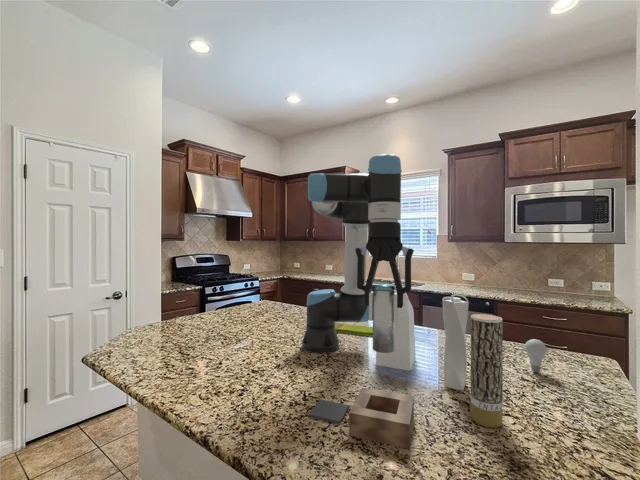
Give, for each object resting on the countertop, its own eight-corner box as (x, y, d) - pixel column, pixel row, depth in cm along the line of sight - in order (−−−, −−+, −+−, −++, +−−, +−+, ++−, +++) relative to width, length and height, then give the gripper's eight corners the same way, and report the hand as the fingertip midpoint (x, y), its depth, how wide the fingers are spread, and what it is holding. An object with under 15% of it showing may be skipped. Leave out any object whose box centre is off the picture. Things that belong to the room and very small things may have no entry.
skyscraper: (466, 394, 89) (467, 295, 89) (439, 387, 93) (439, 293, 93) (470, 383, 96) (470, 292, 96) (444, 378, 100) (444, 290, 100)
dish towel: (326, 324, 169) (326, 318, 169) (393, 331, 155) (393, 325, 155) (315, 331, 155) (315, 324, 155) (387, 340, 141) (387, 333, 141)
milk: (415, 359, 116) (415, 289, 116) (410, 370, 105) (410, 293, 106) (383, 354, 121) (383, 287, 121) (375, 364, 111) (376, 291, 111)
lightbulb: (543, 370, 107) (543, 337, 107) (549, 377, 101) (549, 343, 101) (522, 367, 109) (522, 336, 109) (527, 374, 103) (527, 341, 103)
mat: (308, 417, 76) (308, 414, 76) (320, 401, 84) (320, 399, 84) (340, 423, 74) (340, 421, 74) (349, 407, 81) (349, 405, 81)
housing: (348, 435, 69) (348, 412, 69) (361, 406, 82) (361, 387, 82) (409, 448, 65) (409, 424, 65) (413, 416, 77) (413, 396, 77)
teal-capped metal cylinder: (370, 351, 72) (371, 286, 72) (374, 344, 77) (375, 283, 77) (392, 354, 70) (393, 287, 71) (395, 347, 75) (396, 284, 75)
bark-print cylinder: (465, 413, 79) (465, 314, 79) (490, 413, 79) (490, 313, 79) (481, 429, 72) (481, 320, 72) (509, 428, 72) (509, 320, 73)
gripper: (343, 221, 74) (342, 320, 73) (423, 219, 67) (423, 328, 67) (351, 223, 81) (350, 313, 80) (424, 222, 74) (424, 320, 74)
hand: (383, 320), depth 74 cm, fingers closed on teal-capped metal cylinder, 5 cm apart
